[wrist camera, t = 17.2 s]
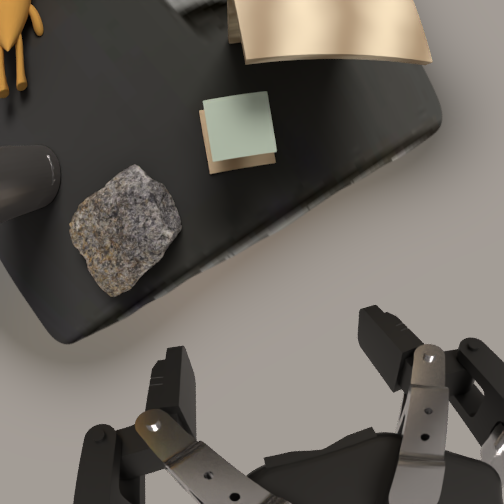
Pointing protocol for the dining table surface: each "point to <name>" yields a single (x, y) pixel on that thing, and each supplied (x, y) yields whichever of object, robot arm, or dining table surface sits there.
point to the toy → (15, 37)
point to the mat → (235, 162)
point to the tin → (239, 126)
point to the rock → (125, 229)
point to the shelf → (327, 30)
